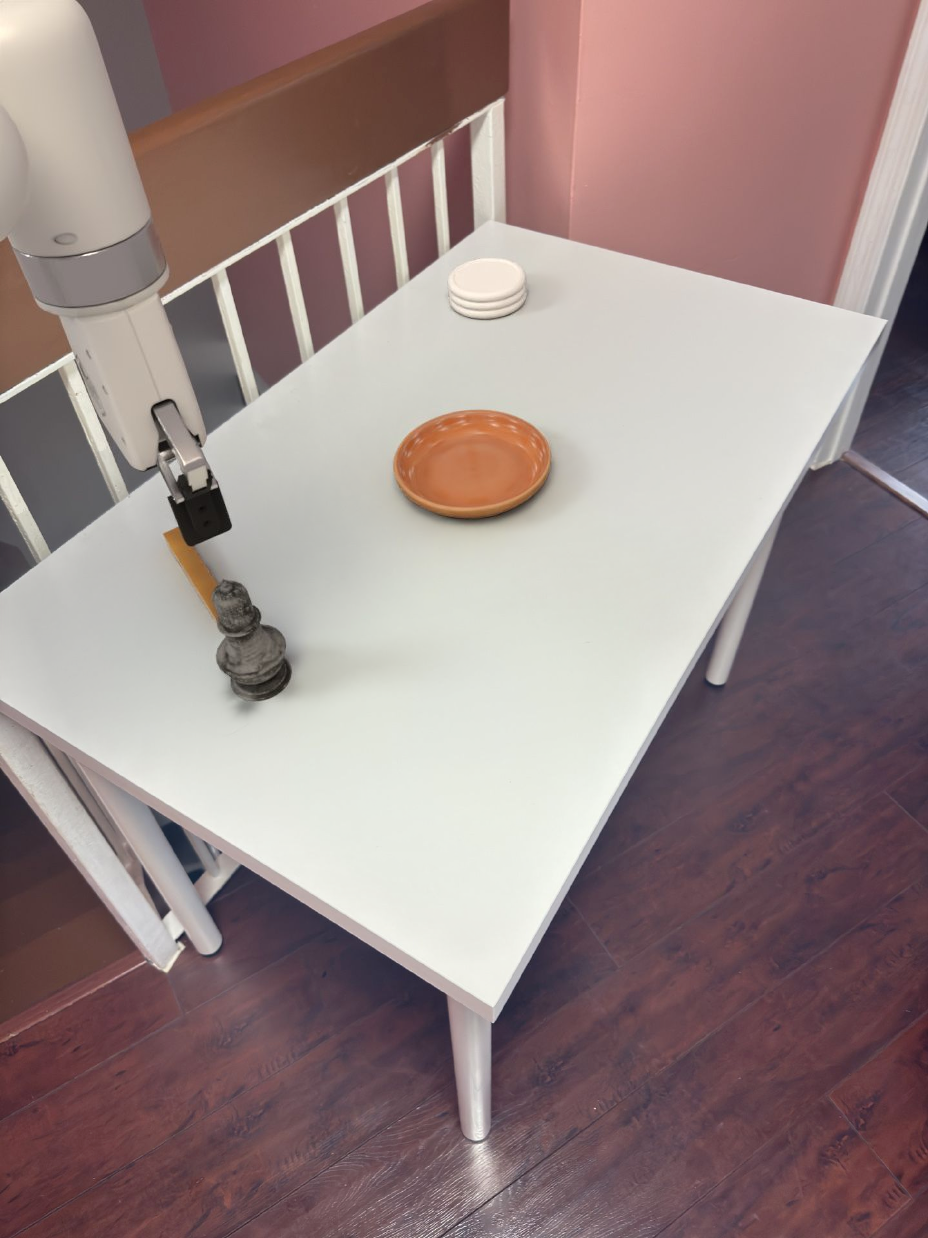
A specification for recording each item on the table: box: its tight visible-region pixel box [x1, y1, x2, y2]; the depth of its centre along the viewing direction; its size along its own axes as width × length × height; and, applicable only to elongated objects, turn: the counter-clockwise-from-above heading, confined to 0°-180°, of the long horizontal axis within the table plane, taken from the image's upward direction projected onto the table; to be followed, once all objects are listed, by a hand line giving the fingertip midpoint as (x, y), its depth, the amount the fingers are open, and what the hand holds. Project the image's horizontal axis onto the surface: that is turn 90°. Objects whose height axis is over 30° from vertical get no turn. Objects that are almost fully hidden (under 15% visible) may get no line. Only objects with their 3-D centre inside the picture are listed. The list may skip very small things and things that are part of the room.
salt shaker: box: [212, 578, 292, 702], centre depth 74 cm, size 6×6×12 cm
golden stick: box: [162, 526, 219, 625], centre depth 86 cm, size 2×14×2 cm, turn 32°
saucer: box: [392, 409, 552, 519], centre depth 93 cm, size 16×16×3 cm
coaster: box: [447, 257, 528, 320], centre depth 117 cm, size 10×10×4 cm
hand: (183, 497), depth 63 cm, fingers open, 9 cm apart
